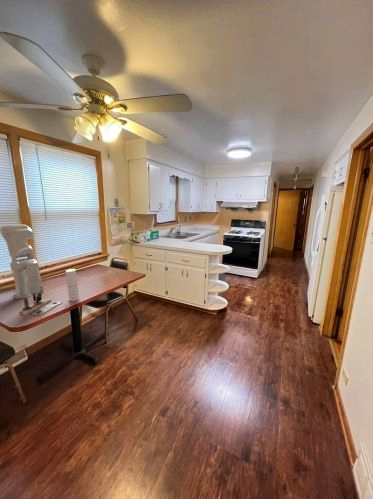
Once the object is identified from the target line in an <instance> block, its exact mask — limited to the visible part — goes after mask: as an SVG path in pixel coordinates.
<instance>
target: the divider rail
mask: <svg viewBox="0 0 373 499" xmlns="http://www.w3.org/2000/svg"><path fill="white" fill-rule="evenodd" d="M28 298H29V297H26V298H23V303H24V307H23V308H22V310H19V312H18V313H19V315H23V316H26V315H28V314H31V313H32V312H34V311H35V310H36V311H37V309H38V310H39V308H41V307H44V306H46V305H48V304H50V303H51V302H52V298H48V297H47V298H46V297H45V298H43V299H42V300H41V301H42V302H43V303H41V304H34V303H33V304H32V305H30V304H29V299H28Z"/></svg>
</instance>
